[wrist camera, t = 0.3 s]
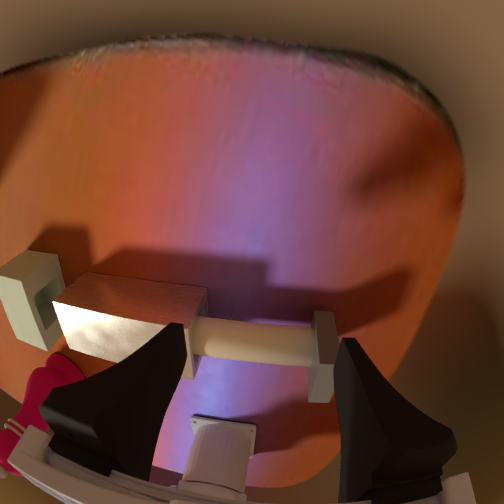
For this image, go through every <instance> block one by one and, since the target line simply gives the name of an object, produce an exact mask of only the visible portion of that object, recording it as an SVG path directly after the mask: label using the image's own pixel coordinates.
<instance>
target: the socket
mask: <svg viewBox="0 0 504 504" xmlns="http://www.w3.org/2000/svg"><path fill="white" fill-rule="evenodd" d="M65 289H66V286H65V283H64V279H63V275H62V271H61V267H60V262H59V258H58V254H51V253H44V252H37V251H30V250H25V251H24V252H22V253H21V254H19V255H18V256H16V257H15V258H13V259H12V260H10V261H9V262H7V263H6V264H5V265H3V266H2V267H0V298H1V301H2V304H3V306H4V309H5V311H6V314H7V316H8V319H9V321H10V324H11V326H12V328H13V330H14V333H15V335H16V337H17V339H20V340H22V341H24V342H26V343H29V344H31V345H33V346H36V347H38V348H41V349H43V350H46V351H49V350H50V349H51V347H52V346H53V345H54V344H55V343H56V342H57V340H58V339H59V338H60V337H61V336H62V335H63V334H64V333H63V330H62V328H61V325H60V322H59V319H58V316H57V313H56V311H55V308H54V304H53V300H54V299H56V298H57V297H58V296H59V295H60V294H61V293H62V292H63V291H64V290H65Z"/></svg>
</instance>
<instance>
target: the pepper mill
mask: <svg viewBox="0 0 504 504" xmlns="http://www.w3.org/2000/svg"><path fill="white" fill-rule="evenodd" d="M83 379H85V377H84V375H83V373H82V372H81V370H80V369H79V368H78V367H77V366H76V365H75V364H74V363H73V362H72V361H71V360H69V359H68V358H66V357H65V356H63V355H60V354H52V355H51V356H50V357H49V358H48V359H47V361H46V362H45V367H39V368H36V369H35V370H34V371H33V372H32V374H31V375H30V377H29V380H28V382H27V387H26V392H25V397H24V401H23V404H22V406H21V408H20V410H19V412H18V413H17V414H16V415H15V417H14V418H13V419H8V422H7V423H6V424H5V425H4V426H5V428H6V429H4V430H0V478H6V477H7V475H8V472H10V473H12V474H15V475H19V476H23V475H22V474H21V473H20V472H19V471H18V470H16V469H15V468H14V467H13V466H12V465H11V464H10V463H9V462H8V461H7V459H8V458H9V456H10V454H11V453H12V451H13V450H14V448H15V446H16V445H17V443H18V442H19V440H20V438H21V437H22V435H23V434H24V432H25V431H26V429H27V428H28V426H29V425H32V426H34V427H36V428H38V429H39V430H41V431H43V432H45V431H46V430H47V429H48V428H49V425H48V424H47V423H46V421H45V420H44V419H43V417H42V416H41V414H40V411H39V407H40V405H41V404H42V402H43V401H44V399H45V398H46V397H47V395H48V394H49V392H50V391H51V390H52V388H55V387H59V386H63V385H67V384H71V383H74V382H77V381H80V380H83ZM7 471H8V472H7Z"/></svg>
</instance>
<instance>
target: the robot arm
mask: <svg viewBox="0 0 504 504" xmlns="http://www.w3.org/2000/svg"><path fill="white" fill-rule="evenodd" d="M187 356H188V355H187V348H186V341H185V333H184V325H183V324H181V323H174V322H170V323H169V324H168V325H167V326H166V327H164V328H163V329H162V330H161V331H160V332H159V333H157V334H156V335H155V336H154V337H153V338H151V339H150V340H149V341H148V342H146V343H145V344H144V345H143V346H142V347H140V348H139V349H138V350H136V351H135V352H133V353H132V354H131V355H129V356H128V357H126V358H125V359H123V360H122V361H120V362H119V363H117V364H115V365H113V366H112V367H110V368H108V369H106V370H104V371H102V372H100V373H97V374H95V375H93V376H91V377H88V378H86V379H83V380H80V381H77V382H74V383H71V384H67V385H63V386H59V387H55V388H52V390H51V391H50V392H49V394H48V395H47V397H46V398H45V399H44V401H43V402H42V404H41V405H40V407H39V411H40V414H41V416H42V417H43V419H44V420H45V421H46V423H47V424H48V425H49V427H50V428H51V429H52V430H53V432H54V433H55V434H54V436H53V437H52V438H51V437H50V436H49V435H48V434H46V433H45V432H43V431H41V430H39V429H38V428H36V427H34V426H32V425H29V426H28V428H27V429H26V431H25V432H24V434H23V435H22V437H21V438H20V440H19V442H18V443H17V445H16V446H15V448H14V450H13V451H12V453H11V454H10V456H9V458H8V459H7V461H8V462H9V463H10V464H11V465H12V466H13V467H14V468H15V469H16V470H18V471H19V472H20V473H21V474H22V475H23V476H25V477H26V478H27V479H28V480H30V481H31V482H32V483H33V484H35V485H36V486H37V487H39V488H41V489H42V490H44V491H45V492H47V493H49V494H50V495H52V496H54V497H55V498H57V499H59V500H60V501H62V502H64V503H65V504H267V503H254V502H250V501H246V496H247V495H246V494H244V489H245V483H246V476H247V470H248V463H249V458H253V453H254V445H255V436H256V425H253V424H245V423H237V422H229V421H223V420H216V419H210V418H204V417H199V416H191V418H190V420H191V424H192V429H193V434H194V440H193V444H192V447H191V450H190V454H189V457H188V461H187V464H186V468H185V471H184V474H183V478H182V481H181V480H180V481H179V485H178V487H177V486H175V485H172V486H171V487H164V486H161V485H157V484H154V483H150V482H149V477H150V471H151V466H152V461H153V457H154V452H155V448H156V444H157V440H158V436H159V432H160V429H161V426H162V422H163V419H164V416H165V413H166V410H167V408H168V406H169V404H170V401H171V399H172V397H173V394H174V392H175V390H176V388H177V385H178V383H179V381H180V378H181V376H182V374H183V370H184V367H185V363H186V360H187ZM333 380H334V392H335V399H336V405H337V411H338V418H339V424H340V433H341V469H340V471H341V472H340V486H339V496H338V503H337V504H476V502H475V497H474V493H473V489H472V485H471V482H470V478H469V474H468V472H465V473H462V474H459V475H456V476H453V477H450V478H447V479H445V480H443V481H441V479H440V476H441V475H442V474H443V471H442V468H441V467H442V466H443V465H444V464H445V463H446V462H447V461H448V460H449V459H450V458H451V457H452V456H453V455H454V454H455V453H456V451H457V449H458V446H457V443H456V439H455V436H454V434H453V432H452V429H450V428H448V427H446V426H445V425H443V424H441V423H439V422H437V421H435V420H433V419H432V418H430V417H429V416H427V415H426V414H424V413H423V412H421V411H420V410H419V409H417V408H416V407H415V406H413V405H412V404H411V403H409V402H408V401H407V400H406V399H405V398H404V397H403V396H402V395H401V394H400V393H399V392H397V391H396V390H395V389H394V388H393V387H392V385H391V384H390V383H389V382H388V381H387V380H386V379H385V378H384V376H383V375H382V374H381V373H380V372H379V370H378V369H377V368H376V366H375V365H374V364H373V362H372V361H371V360H370V358H369V357H368V356H367V354H366V353H365V351H364V350H363V348H362V347H361V346H360V344H359V343H358V341H357V340H356V339H355V338H342V340H341V343H340V347H339V351H338V354H337V358H336V361H335V364H334V368H333Z"/></svg>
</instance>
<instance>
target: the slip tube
mask: <svg viewBox="0 0 504 504" xmlns="http://www.w3.org/2000/svg"><path fill="white" fill-rule="evenodd" d="M191 336H192V346H193V354H196V355H202V356H209V357H216V358H223V359H231V360H239V361H248V362H257V363H267V364H279V365H292V366H307V371H308V402H316V403H329V402H330V400H331V397H332V394H333V392H334V380H333V368H334V364H335V361H336V358H337V354H338V351H339V347H340V344H339V339H338V334H337V328H336V323H335V318H334V313H333V312H331V311H315V310H314V314H313V319H312V324H311V327H301V326H288V325H276V324H265V323H254V322H245V321H235V320H227V319H218V318H210V317H202V316H197V318H196V320H195V323H194V325H193V327H192V329H191Z"/></svg>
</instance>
